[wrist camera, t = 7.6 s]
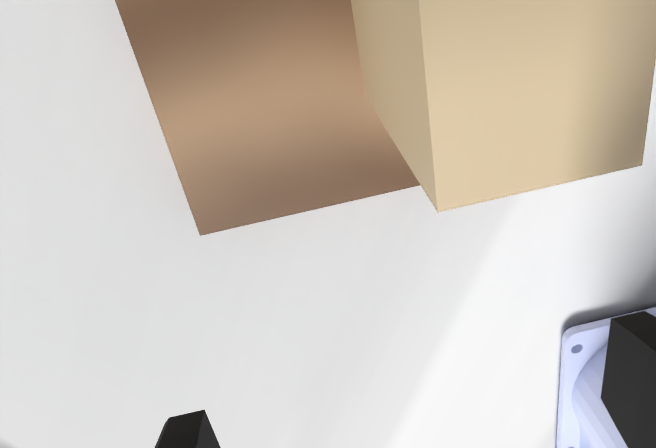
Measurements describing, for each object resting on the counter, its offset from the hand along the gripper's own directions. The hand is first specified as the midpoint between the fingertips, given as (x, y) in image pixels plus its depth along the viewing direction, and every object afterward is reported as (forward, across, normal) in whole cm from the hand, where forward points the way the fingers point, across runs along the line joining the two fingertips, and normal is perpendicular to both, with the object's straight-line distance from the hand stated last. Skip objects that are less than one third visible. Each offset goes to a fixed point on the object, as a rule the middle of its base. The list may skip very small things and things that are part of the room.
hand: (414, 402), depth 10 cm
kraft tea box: (+9, -3, -6) cm, 11 cm away
